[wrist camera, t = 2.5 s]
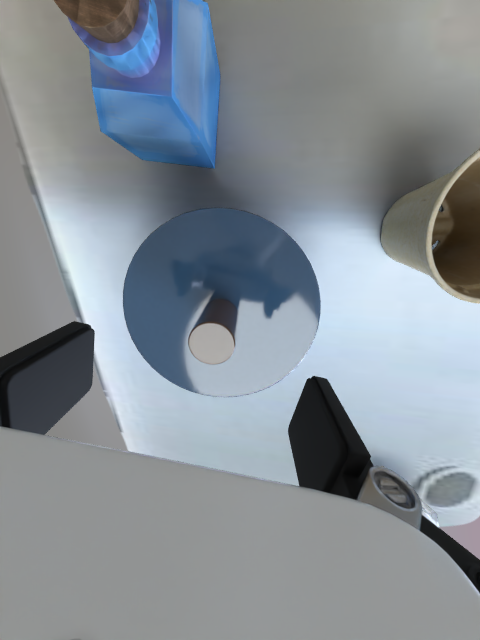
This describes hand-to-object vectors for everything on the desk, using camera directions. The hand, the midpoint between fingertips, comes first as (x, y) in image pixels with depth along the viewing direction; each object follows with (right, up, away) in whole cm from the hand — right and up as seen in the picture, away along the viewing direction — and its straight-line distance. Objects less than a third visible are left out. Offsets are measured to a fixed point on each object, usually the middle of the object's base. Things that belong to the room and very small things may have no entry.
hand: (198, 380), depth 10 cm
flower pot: (+18, +11, +11) cm, 24 cm away
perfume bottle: (-3, +19, +9) cm, 21 cm away
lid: (0, +3, +8) cm, 8 cm away
